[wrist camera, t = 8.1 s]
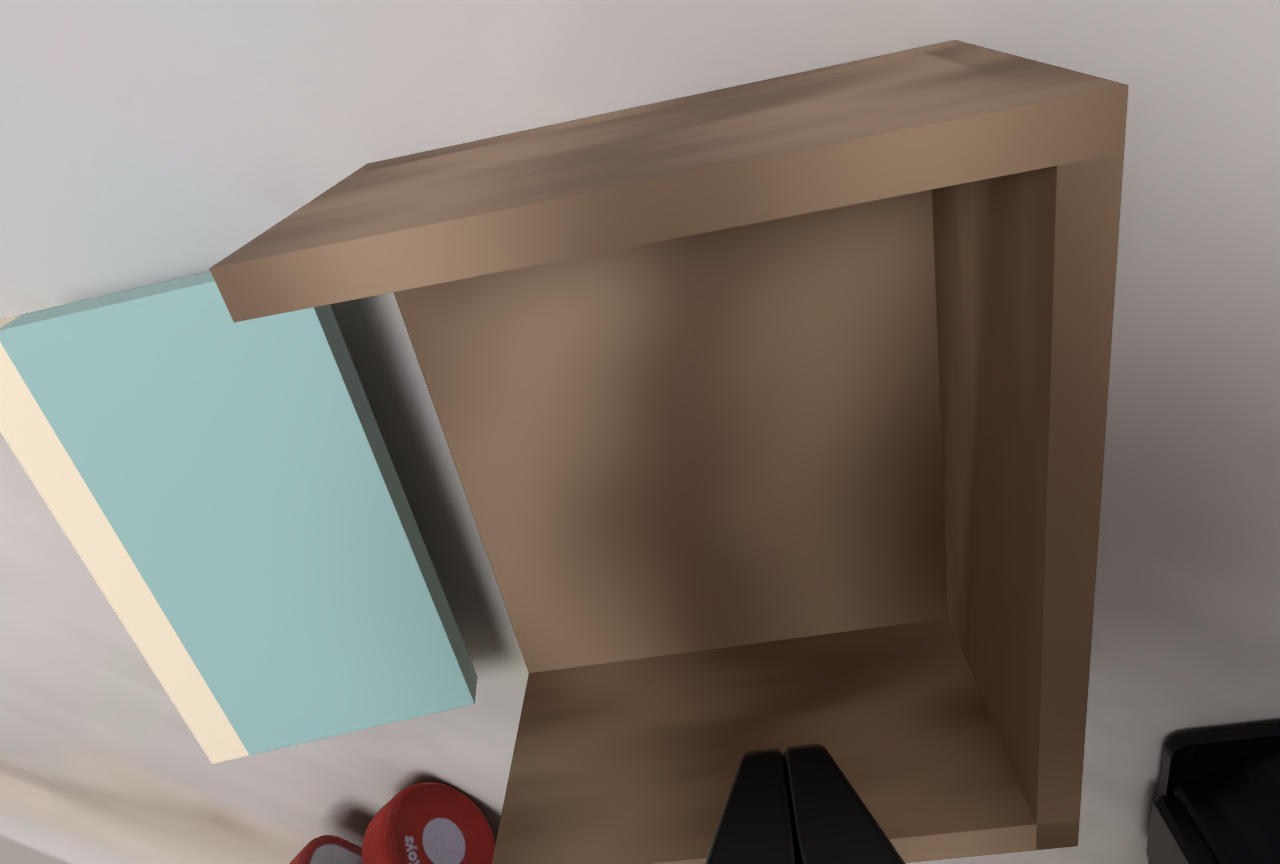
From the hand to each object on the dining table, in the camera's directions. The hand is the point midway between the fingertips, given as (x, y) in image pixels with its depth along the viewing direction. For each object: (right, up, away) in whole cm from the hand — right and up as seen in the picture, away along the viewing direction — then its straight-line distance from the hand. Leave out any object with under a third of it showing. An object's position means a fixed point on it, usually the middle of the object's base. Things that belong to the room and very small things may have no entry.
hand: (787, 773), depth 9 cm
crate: (0, +4, +12) cm, 12 cm away
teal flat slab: (-7, +2, +11) cm, 14 cm away
